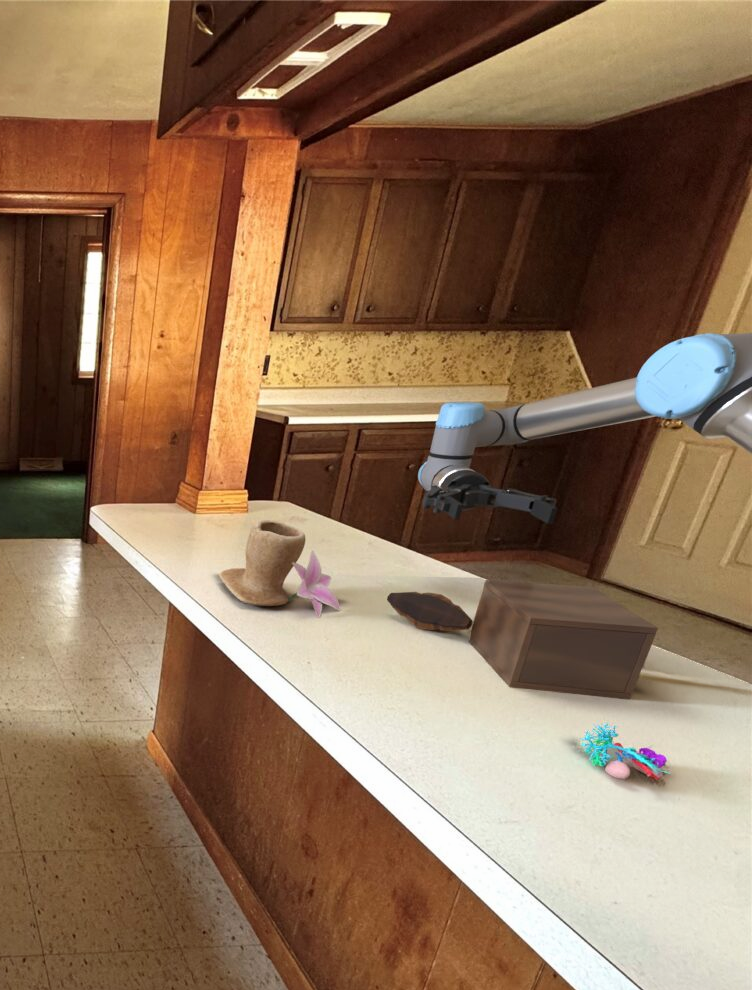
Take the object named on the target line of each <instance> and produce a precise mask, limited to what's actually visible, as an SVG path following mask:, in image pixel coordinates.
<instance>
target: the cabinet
mask: <svg viewBox="0 0 752 990" xmlns="http://www.w3.org/2000/svg"><path fill="white" fill-rule="evenodd" d="M484 583H485V585H484V584H483V586H484V588H483V587H482V590H483V592H482V591H481V593H482V595H481V594H480V597H481V599H480V598H479V600H480V602H479V601H478V604H479V606H478V605H477V607H478V610H477V609H476V611H477V613H476V612H475V614H476V617H475V616H474V618H475V620H474V619H473V621H474V624H473V623H472V625H473V627H472V626H471V629H472V631H471V630H470V634H469V638H468V643H469V644H470V645H471V646H472V647H473V648H474V649H475V651H476V652H477V653H478V654H479V655H480V656H481V657H482V658H483V659H484V661H485V662H486V663H487V664H488V665H489V666H490V667H491V668H492V670H494V672H495V673H496V674H497V675H498V676H499V677H500V678H501V679H502V680H503V682H504V683H505V684H506V685H507V687H509V688H517V689H529V690H538V691H545V692H556V693H557V692H558V693H566V694H574V695H575V694H576V695H584V696H593V697H604V698H613V699H623V700H624V699H625V700H631V698H632V696H633V693H634V691H635V688H636V685H637V684H638V680H639V679H640V675H641V673H642V670H643V668H644V666H645V664H646V663H645V662H646V660H647V657H648V655H649V653H650V650H651V647H652V646H653V643H654V640H655V637H656V636H657V635H656V634H657V632H658V629H659V627H658V626H657V625H654V624H652V623H651V622H649V621H648V620H647V619H645V618H643V617H642V616H640V615H638V614H637V613H635V612H634V611H632V610H631V609H629V608H627V607H626V606H624V605H623V604H621V603H620V602H618V601H616V600H615V599H614V598H612V597H610V596H609V595H607V594H605V593H604V592H602V591H600V589H598V588H596V587H594V586H585V585H570V584H569V585H568V584H553V583H539V582H538V583H537V582H525V581H523V582H522V581H509V580H508V581H507V580H492V579H485V582H484Z"/></svg>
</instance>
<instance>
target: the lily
mask: <svg viewBox="0 0 752 990" xmlns="http://www.w3.org/2000/svg"><path fill="white" fill-rule="evenodd" d="M292 564H293V568H294V570H295V571H296V573H297V574H298V576H299V577H300V580H301V583H300V584H299V587H298V589H297V591H296V592H295V593H294V594H293V595H292V596H291V597H290V598H288V601H289V602H291V600H292V599H294V597H296V596H298V597H300V598H305V599H310V600H311V603H312V606H313V608H314V612H315V614H316V617H317V618H318V617H319V618H320V616H321V614H322V610H323V604H325V605H327V606H329V607H331V608H334V609H336V610H338V611H341V610H342V608H341V605H340V603H339V600H338V598H337V596H336V594H335V593H334V592H333V591H332V589H331V588H329V587H330V585H331V583H332V576H330V575H329V574H325V573H322V566H321V563H320V560H319V558H318V556H317V554H316V552H315V551H314V550H311V551H310V556H309V561H308V564H307V566H306V567H304V566H303V565H301V564H300V563H298V562H296V563H294V562H292Z"/></svg>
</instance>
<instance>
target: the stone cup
mask: <svg viewBox="0 0 752 990" xmlns="http://www.w3.org/2000/svg"><path fill="white" fill-rule="evenodd" d="M305 544H306V533H305V532H303V531H302V530H301V529H299V528H297V527H295V526H293V525H290V524H286V523H285V522H281V521H275V520H270V519H263V520H262V519H261V520H259V521H257V522H255V523H254V524H253V525H252V526H251V527H250V530H249V533H248V536H247V541H246V545H245V568H241V567H240V568H239V567H238V568H228V569H224V570H222V571H220V573H219V576H218V577H219V578H220V580H221V581H222V582H223V584H224V585H225V586H226V588H227V589H228V590H229V592H230V593H231V594H232V595H233V596H234V597H235V598H237V600H239V601H240V602H242V603H244V604H247V605H250V606H260V607H276V606H281V605H285V604H288V603H287V601H288V600H289V598H288V596H287V593H286V590H285V589H284V582H285V580H286V578H287V577H288V575H289V573H290V572H291V571H292V569H293V568H294V566H293V564H292V562H294V563H298V560H299V559H300V557H301V556H302V553H303V551H304V548H305Z"/></svg>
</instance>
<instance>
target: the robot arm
mask: <svg viewBox="0 0 752 990" xmlns="http://www.w3.org/2000/svg"><path fill="white" fill-rule="evenodd" d="M654 417H658V418H663V419H668V420H673V419H678V420H680V421H681V422H682V423H684V424H685V425H686V426H687V427H689V428H691V429H692V430H693V431H694V432H696V433H697V434H699V435H700V436H701V437H703V438H704V439H725V438H726V439H729V440H730V441H732V442H734V443H735V444H736V445H738V446H739V447H741V448H742V449H743V450H744V451H746V452H748V453H749V454H751V455H752V332H746V333H745V332H743V333H700V334H695V335H692V336H687V337H682V338H680V339H676V340H675V341H671V342H670V343H667V344H666V345H664V346H663V347H661V348H659V349H658V350H657V351H655V352H654V353H653V354H652V355H651V356H650V357H649V358H648V359H647V360H646V361H645V362H644V363H643V365H642V366H641V368H640V369H639V372H638V374H637V376H636V377H633V378H628V379H624V380H620V381H615V382H610V383H607V384H603V385H599V386H595V387H590V388H585V389H581V390H578V391H574V392H569V393H565V394H562V395H561V394H560V395H557V396H553V397H549V398H544V399H540V400H535V401H532V402H527V403H523V404H519V405H515V406H511V407H505V408H499V409H486V405H485V404H484V403H483V402H476V401H449V402H446V403H444V404H442V406H441V407H440V410H439V413H438V417H437V419H436V421H435V428H434V432H433V436H432V441H431V445H430V450H429V453H428V454H429V455H428V456H427V461H424V463H423V464H422V465H421V466H420V468H419V470H418V472H417V473H418V474H417V478H418V482H419V483H420V485H421V486H422V488H423V489H424V490H425V491H427V492H426V493H425V494H424V496H423V500H422V504H421V508H423V509H430V508H431V507H433V510H432V513H434V514H441V512H443V513H445V514H446V515H447V516H449V517H450V518H451V519H453V520H457V521H458V520H460V519H461V515H462V511H468V510H472V509H475V508H477V507H489V508H492V509H493V508H494V509H497V508H501V507H503V508H508V509H512V510H518V511H523V512H528V513H530V515H532V516H533V517H535V518H537V519H538V520H540V521H542V522H544V523H546V524H549V525H551V524H552V525H553V524H554V522H555V518H556V515H557V512H558V509H559V508H558V507H556V503H557V499H556V498H554V497H548V495H546V494H544V495H539V494H535V493H530V492H525V491H521V490H518V489H516V488H513V487H508V488H506V490H505V489H503V488H497V487H492V486H491V484H490V482H489V480H488V479H487V477H486V476H484V475H483V474H482V473H479V472H477V471H475V470H473V469H472V468H470V466H471V463H472V459H473V457H474V453H475V450H476V448H481V447H493V446H512V445H519V444H523V443H526V442H529V441H532V440H536V439H541V438H547V437H552V436H557V435H558V436H559V435H563V434H564V435H565V434H568V433H574V432H579V431H585V430H589V429H595V428H601V427H606V426H612V425H617V424H623V423H628V422H632V421H638V420H639V421H640V420H645V419H649V418H654Z"/></svg>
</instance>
